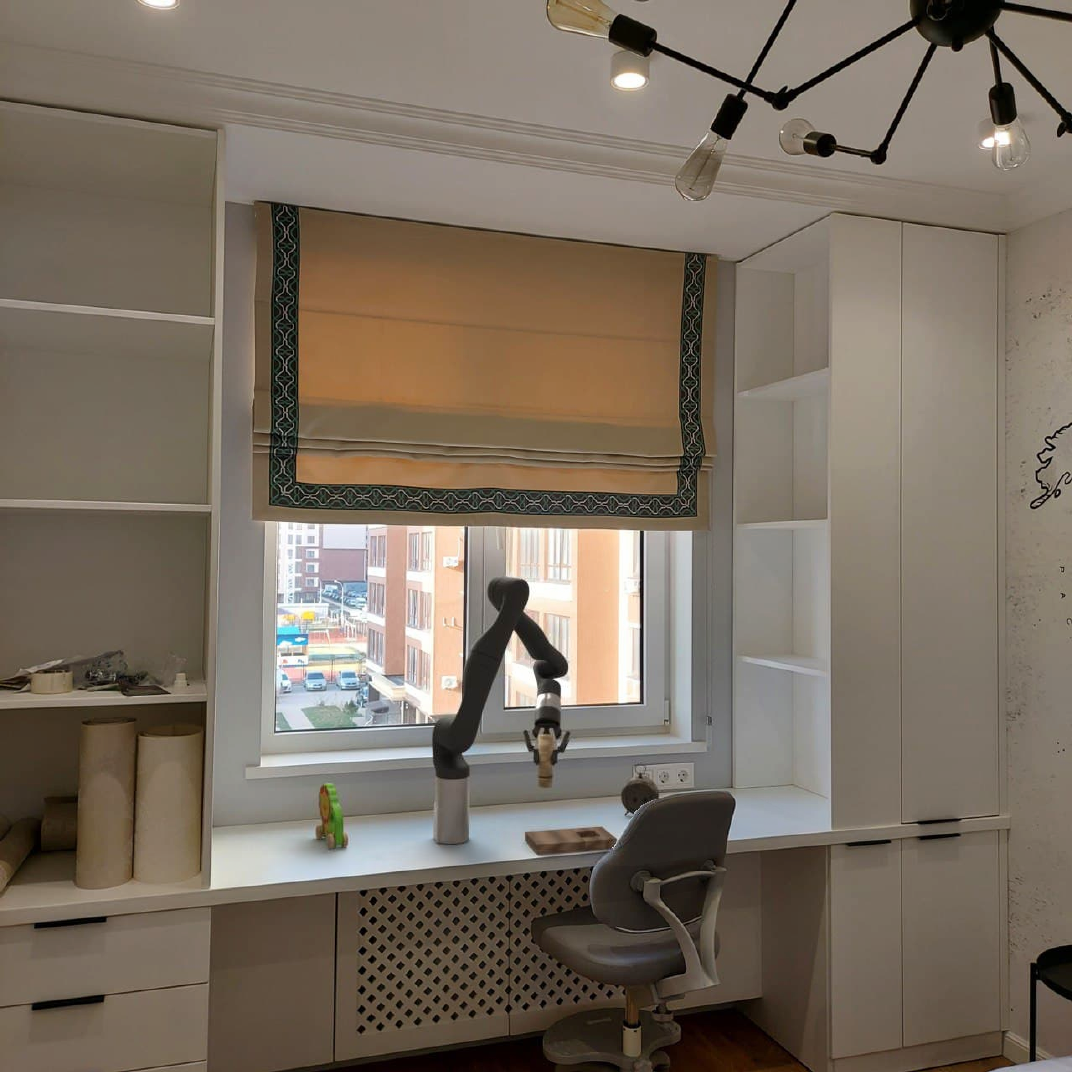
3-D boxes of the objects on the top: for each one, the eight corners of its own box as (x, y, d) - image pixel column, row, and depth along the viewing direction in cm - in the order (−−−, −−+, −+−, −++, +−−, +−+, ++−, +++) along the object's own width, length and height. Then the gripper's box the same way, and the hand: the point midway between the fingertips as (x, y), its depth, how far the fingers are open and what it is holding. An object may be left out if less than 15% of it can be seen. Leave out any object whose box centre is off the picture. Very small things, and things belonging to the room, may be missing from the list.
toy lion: (349, 848, 247) (350, 790, 247) (329, 851, 244) (330, 792, 245) (331, 833, 261) (332, 777, 261) (312, 835, 258) (312, 780, 259)
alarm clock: (659, 817, 280) (659, 762, 281) (656, 822, 275) (657, 766, 275) (622, 814, 283) (623, 760, 283) (619, 819, 278) (620, 764, 278)
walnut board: (537, 854, 243) (537, 844, 243) (525, 841, 255) (525, 831, 255) (616, 848, 249) (616, 838, 249) (601, 835, 261) (601, 826, 261)
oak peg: (540, 788, 259) (540, 737, 260) (535, 784, 263) (536, 734, 264) (554, 787, 261) (555, 736, 261) (550, 783, 265) (550, 733, 265)
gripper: (522, 704, 270) (518, 755, 258) (572, 705, 269) (570, 756, 257) (524, 719, 276) (520, 770, 263) (572, 720, 275) (571, 771, 262)
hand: (545, 763), depth 260 cm, fingers closed on oak peg, 4 cm apart
